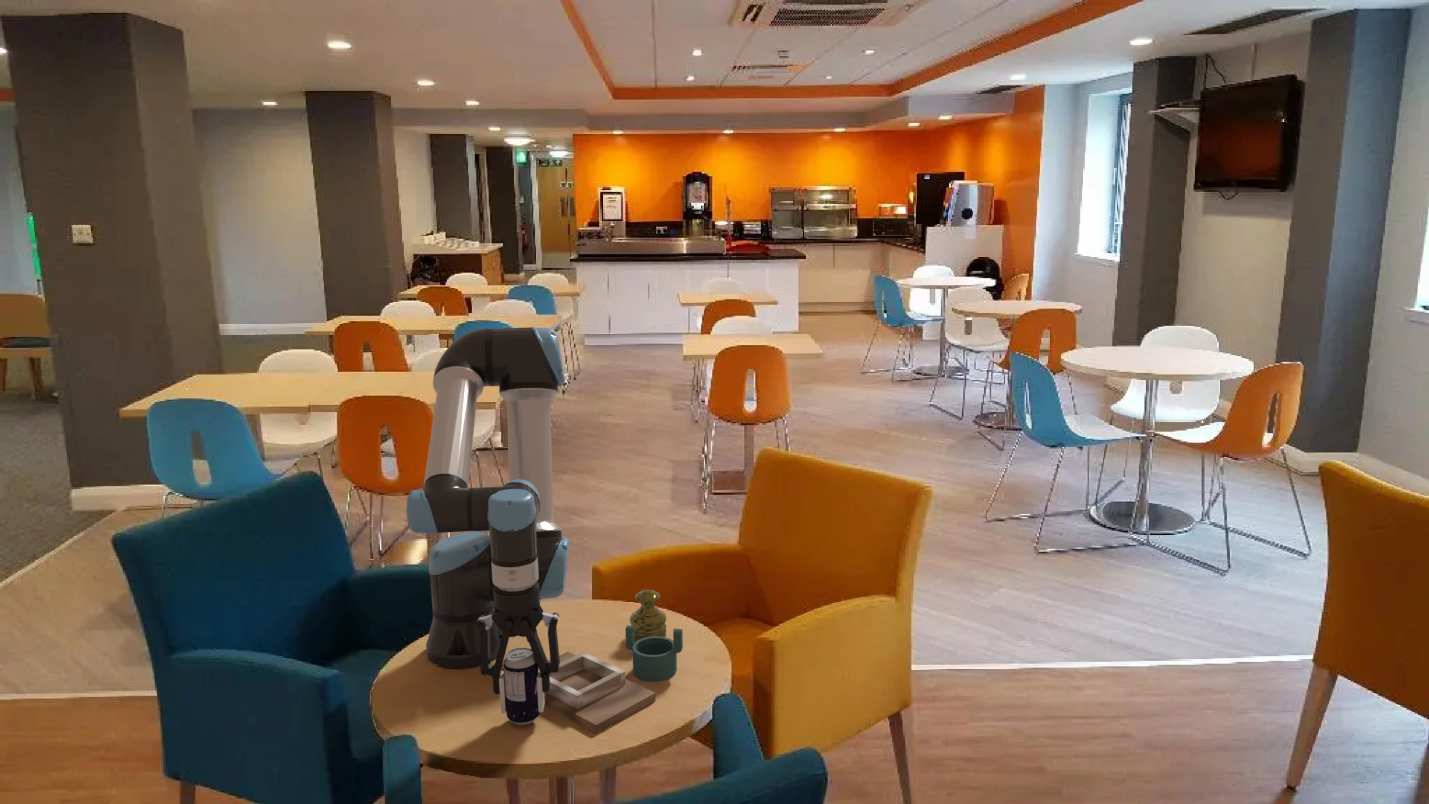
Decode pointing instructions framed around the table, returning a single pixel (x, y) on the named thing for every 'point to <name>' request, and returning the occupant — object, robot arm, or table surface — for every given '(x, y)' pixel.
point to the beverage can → (521, 686)
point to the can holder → (594, 692)
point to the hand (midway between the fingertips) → (523, 708)
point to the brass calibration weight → (648, 616)
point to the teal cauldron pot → (654, 655)
